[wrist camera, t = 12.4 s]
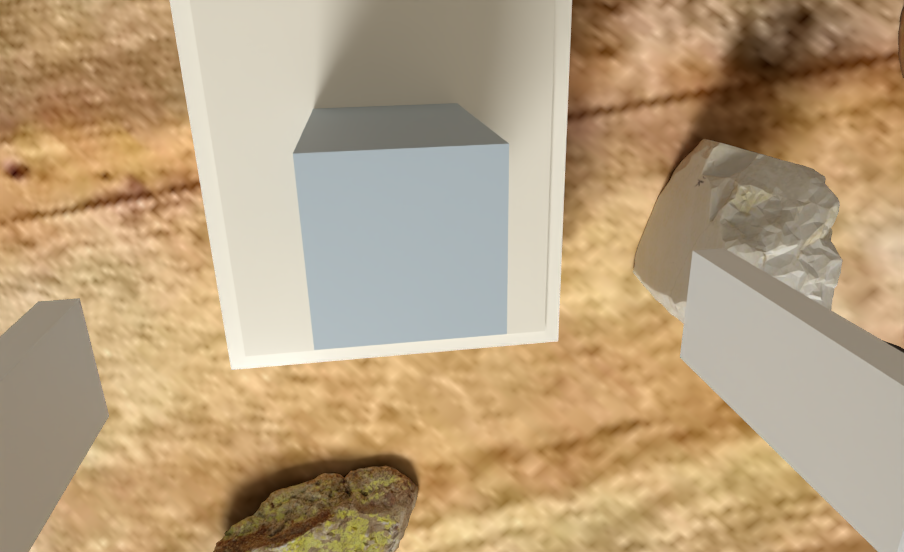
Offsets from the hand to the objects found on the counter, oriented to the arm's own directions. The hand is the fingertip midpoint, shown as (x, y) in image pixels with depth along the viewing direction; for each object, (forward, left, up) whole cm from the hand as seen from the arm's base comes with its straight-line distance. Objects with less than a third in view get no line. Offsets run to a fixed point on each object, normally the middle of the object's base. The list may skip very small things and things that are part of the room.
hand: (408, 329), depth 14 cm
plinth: (0, 0, -22) cm, 22 cm away
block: (0, 0, -15) cm, 15 cm away
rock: (-5, -25, -22) cm, 34 cm away
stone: (+17, -5, -22) cm, 28 cm away
